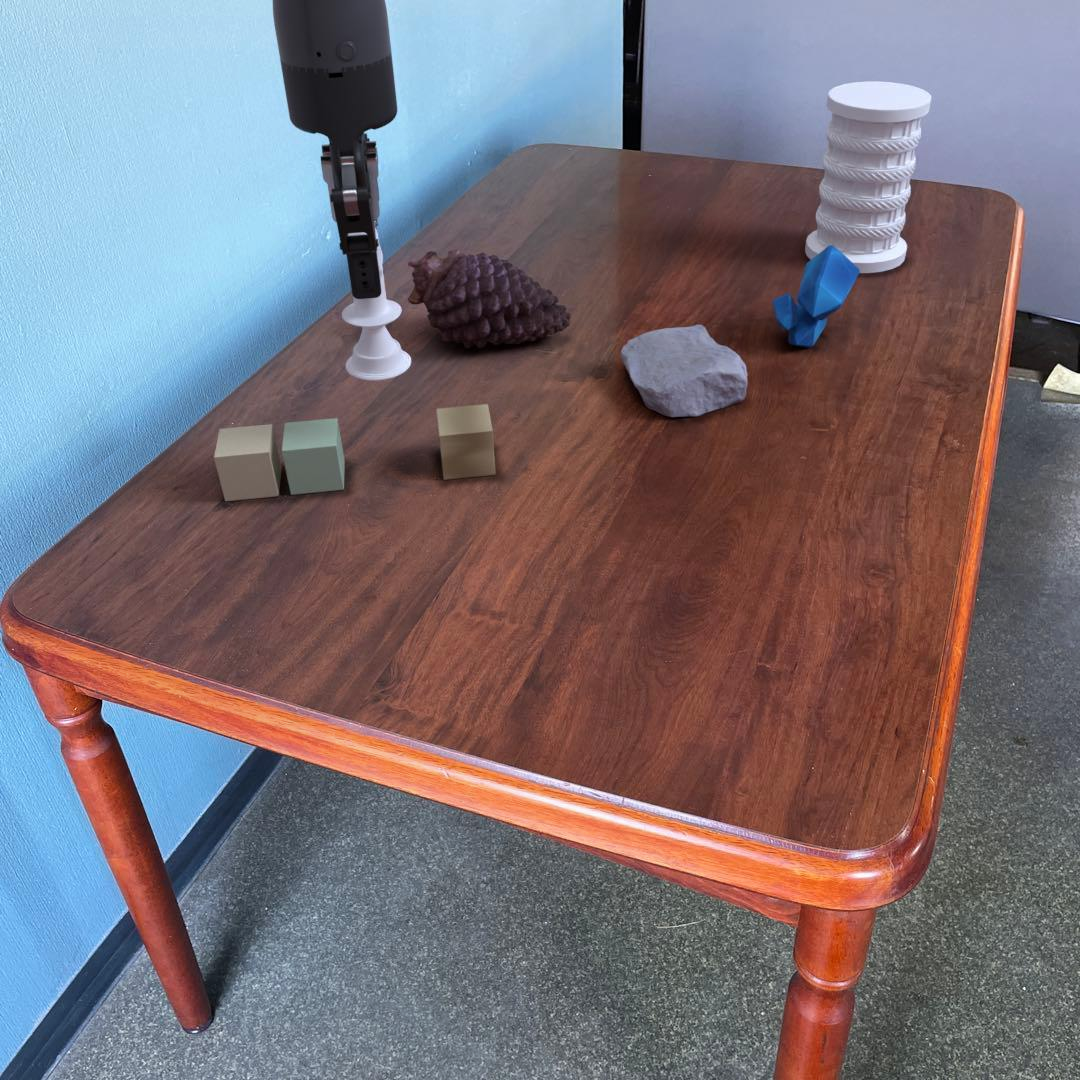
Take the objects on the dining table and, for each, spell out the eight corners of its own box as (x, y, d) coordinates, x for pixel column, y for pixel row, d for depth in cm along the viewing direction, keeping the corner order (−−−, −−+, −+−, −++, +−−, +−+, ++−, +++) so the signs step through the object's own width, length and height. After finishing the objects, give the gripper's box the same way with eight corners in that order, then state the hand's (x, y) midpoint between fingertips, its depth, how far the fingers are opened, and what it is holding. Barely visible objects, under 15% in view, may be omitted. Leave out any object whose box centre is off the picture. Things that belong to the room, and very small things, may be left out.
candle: (384, 342, 91) (366, 204, 83) (424, 364, 88) (410, 223, 80) (332, 365, 88) (309, 225, 80) (372, 389, 85) (351, 245, 77)
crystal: (764, 293, 104) (795, 222, 111) (761, 361, 111) (790, 291, 117) (841, 304, 101) (868, 231, 108) (833, 374, 108) (860, 301, 115)
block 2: (290, 495, 91) (281, 450, 88) (293, 466, 95) (284, 422, 92) (344, 490, 92) (336, 445, 89) (344, 461, 95) (337, 417, 92)
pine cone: (573, 313, 117) (588, 260, 108) (550, 391, 113) (563, 342, 104) (416, 266, 116) (418, 209, 107) (388, 343, 113) (388, 290, 104)
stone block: (663, 440, 99) (758, 399, 101) (655, 397, 96) (752, 355, 98) (611, 386, 108) (698, 349, 110) (601, 345, 105) (691, 307, 107)
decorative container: (786, 256, 127) (804, 98, 116) (836, 227, 134) (858, 74, 123) (875, 282, 121) (903, 117, 110) (923, 249, 128) (954, 91, 117)
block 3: (443, 480, 92) (438, 435, 90) (440, 452, 96) (436, 408, 93) (495, 475, 93) (492, 430, 90) (490, 447, 96) (487, 403, 94)
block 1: (225, 501, 91) (213, 457, 88) (230, 472, 94) (219, 428, 92) (278, 496, 91) (269, 451, 88) (282, 467, 95) (272, 423, 92)
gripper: (285, 29, 78) (321, 257, 88) (272, 79, 67) (315, 332, 77) (388, 23, 79) (412, 249, 89) (393, 72, 68) (419, 324, 78)
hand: (367, 287), depth 83 cm, fingers closed on candle, 2 cm apart
